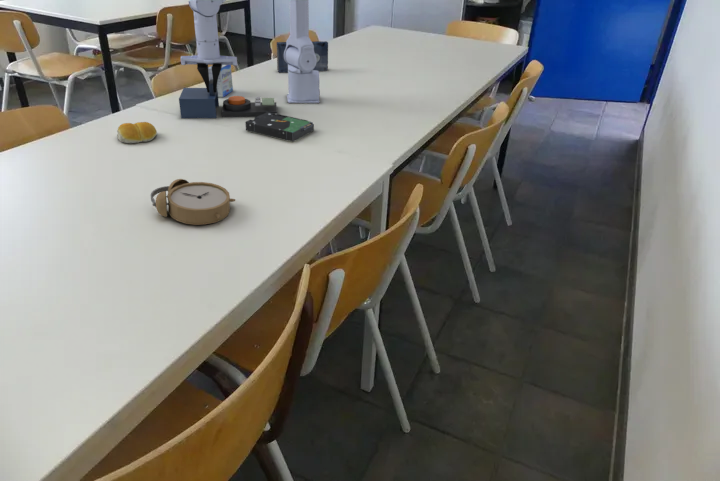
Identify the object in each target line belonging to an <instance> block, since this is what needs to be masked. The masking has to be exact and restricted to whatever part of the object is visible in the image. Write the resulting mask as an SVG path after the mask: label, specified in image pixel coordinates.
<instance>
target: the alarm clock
mask: <svg viewBox="0 0 720 481" xmlns="http://www.w3.org/2000/svg"><path fill="white" fill-rule="evenodd" d="M155 196H156V197H155ZM154 197H155V198H154ZM150 201H151V203H152V207H154V208H155V209H156V211H157V214H159V215H160V216H162V217H168V214H169V216H170V217H171V218H172V219H174V220H176V222H180V223H183V224H187V225H195V226H200V225H209V224H215V223H218V222H221V221H222V220H224V219H225V218H227V217H228V216H229V214H230V213H231V212H230V211H231V208H230V205H231V203H233V202H236V199H235V198H231V196H230V192H229V191H228V189H226V188H225V187H223V186H221V185H219V184H216V183H212V182H207V181H204V182H203V181H191V182H189V181H188V180H187V179H184V178H177V179H175V180H173V181H172V182H170V184H169V185H168V186H167V185H166V186H161V187H160V186H159V187H157V188H155V189H153V190H152V191H151V192H150Z"/></svg>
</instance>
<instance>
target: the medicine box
mask: <svg viewBox="0 0 720 481" xmlns="http://www.w3.org/2000/svg"><path fill="white" fill-rule="evenodd" d="M208 72H209V81H210V79H213V75H212V65H211V66H208ZM232 74H233V73H232V65H222V68H221V71H220V74H219V77H218V81H217V90H218V98H224V97H226V96H227V95H229V94H230V93H232V92H233V91H234V86H233V75H232Z"/></svg>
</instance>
